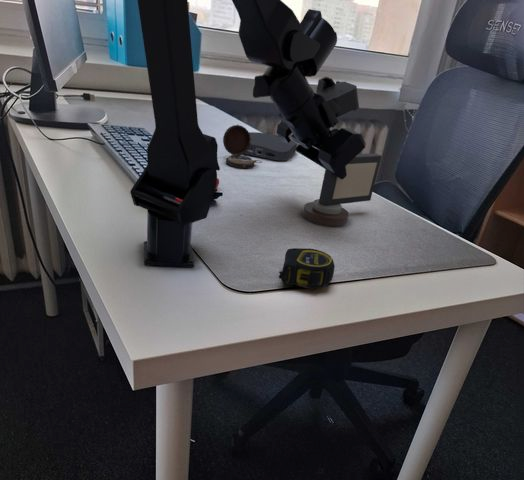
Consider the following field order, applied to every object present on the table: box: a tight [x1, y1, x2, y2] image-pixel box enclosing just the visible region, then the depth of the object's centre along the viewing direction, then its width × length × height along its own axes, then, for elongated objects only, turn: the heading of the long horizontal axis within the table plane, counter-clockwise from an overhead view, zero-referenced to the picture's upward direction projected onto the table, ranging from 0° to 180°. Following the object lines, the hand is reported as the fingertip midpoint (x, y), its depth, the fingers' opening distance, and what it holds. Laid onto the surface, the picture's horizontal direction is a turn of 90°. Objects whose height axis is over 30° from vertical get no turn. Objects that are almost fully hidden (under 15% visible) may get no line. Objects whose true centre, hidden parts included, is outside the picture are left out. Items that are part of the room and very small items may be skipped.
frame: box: [312, 152, 383, 215], centre depth 89 cm, size 12×5×9 cm, turn 126°
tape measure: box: [278, 247, 336, 290], centre depth 67 cm, size 7×7×4 cm
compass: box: [222, 124, 263, 169], centre depth 110 cm, size 8×8×7 cm
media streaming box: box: [244, 131, 298, 161], centre depth 123 cm, size 15×15×3 cm
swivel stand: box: [302, 201, 350, 228], centre depth 90 cm, size 8×8×2 cm
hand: (340, 175), depth 87 cm, fingers closed on frame, 2 cm apart
